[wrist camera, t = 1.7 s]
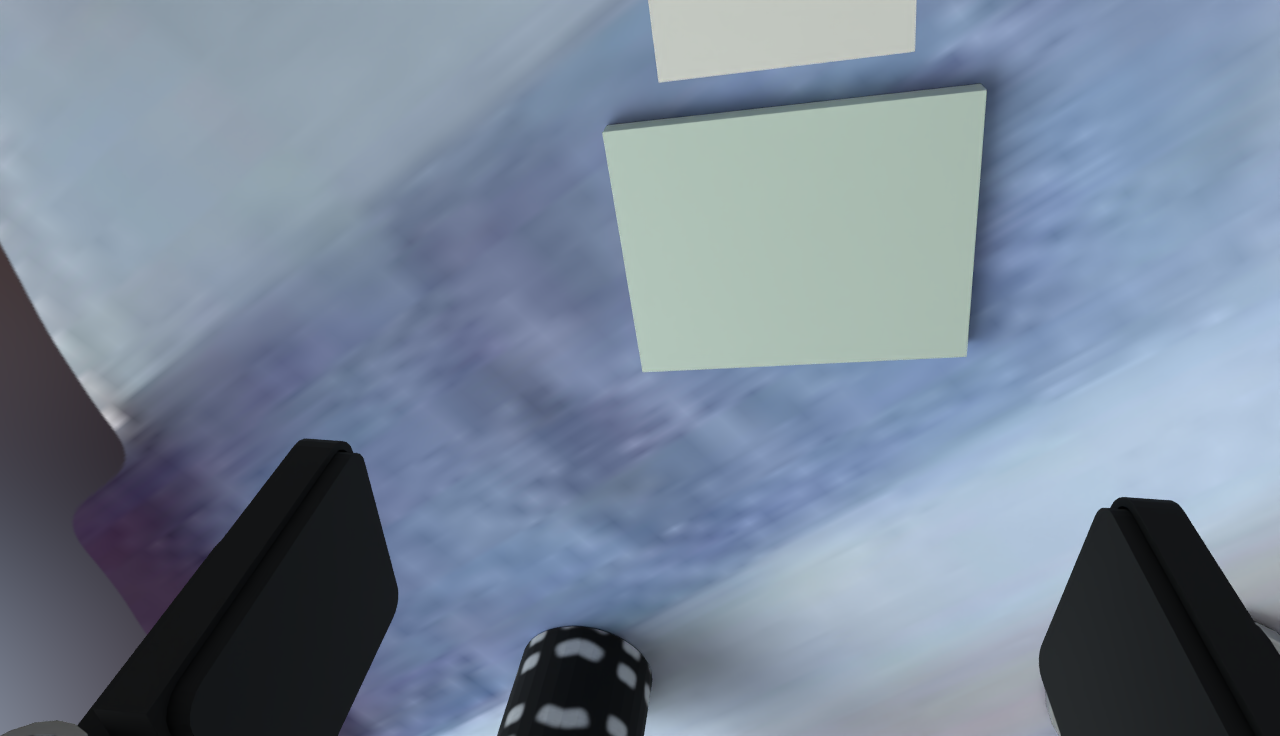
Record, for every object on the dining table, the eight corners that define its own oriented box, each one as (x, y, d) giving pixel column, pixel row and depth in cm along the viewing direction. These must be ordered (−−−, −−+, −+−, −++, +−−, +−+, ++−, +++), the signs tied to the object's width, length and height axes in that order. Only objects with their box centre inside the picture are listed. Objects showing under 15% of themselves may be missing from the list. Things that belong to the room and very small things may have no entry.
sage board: (980, 83, 29) (986, 89, 28) (962, 344, 35) (966, 356, 34) (606, 125, 32) (602, 132, 31) (645, 360, 37) (642, 372, 36)
